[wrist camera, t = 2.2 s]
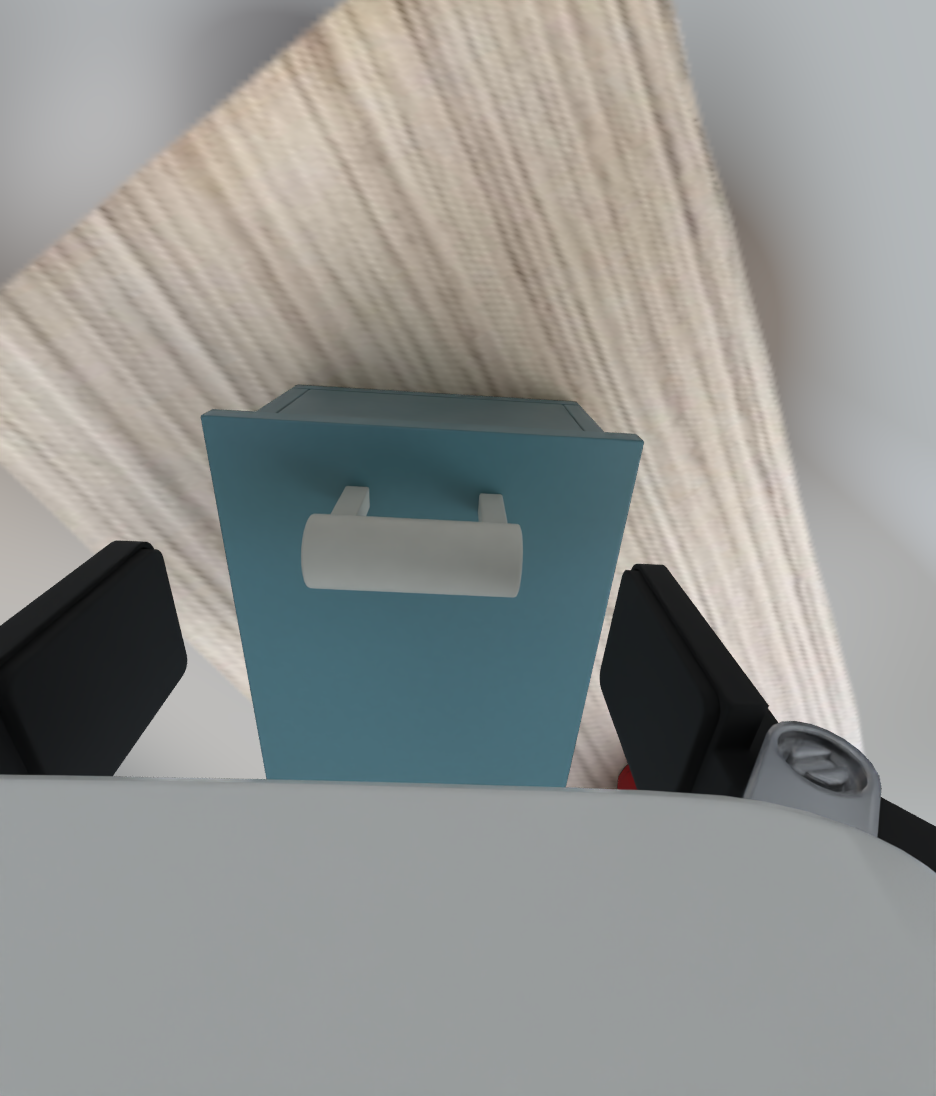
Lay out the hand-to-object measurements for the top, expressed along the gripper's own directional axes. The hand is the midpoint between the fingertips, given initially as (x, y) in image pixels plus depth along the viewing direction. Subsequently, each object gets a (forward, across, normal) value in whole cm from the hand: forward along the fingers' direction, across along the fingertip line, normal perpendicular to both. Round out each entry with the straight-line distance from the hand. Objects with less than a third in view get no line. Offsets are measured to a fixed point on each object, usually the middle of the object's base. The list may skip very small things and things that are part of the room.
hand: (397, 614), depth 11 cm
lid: (+7, 0, +5) cm, 8 cm away
